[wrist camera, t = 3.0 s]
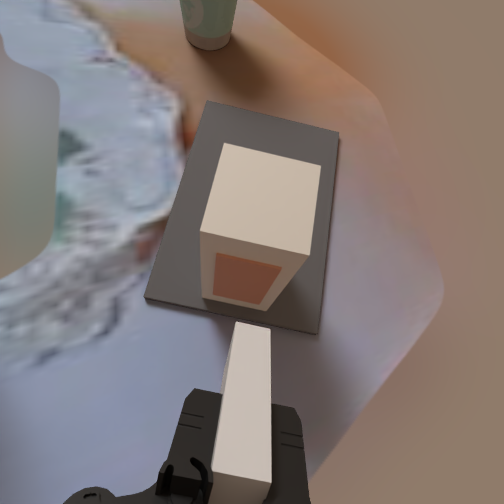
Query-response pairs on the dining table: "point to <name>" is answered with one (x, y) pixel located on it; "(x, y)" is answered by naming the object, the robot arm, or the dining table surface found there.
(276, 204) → the cream block
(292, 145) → the charcoal mat
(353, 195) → the dining table surface
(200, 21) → the coffee cup
